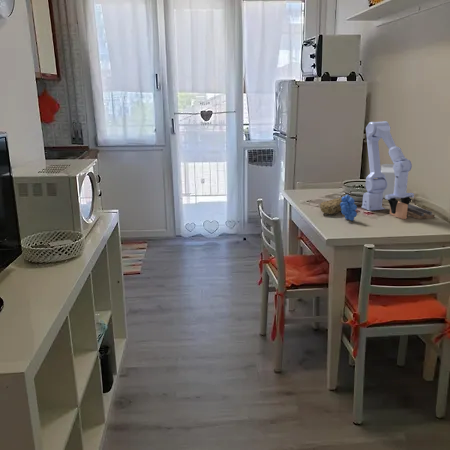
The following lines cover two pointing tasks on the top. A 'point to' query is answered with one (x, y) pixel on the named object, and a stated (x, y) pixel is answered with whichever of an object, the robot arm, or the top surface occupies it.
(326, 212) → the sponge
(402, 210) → the peach block
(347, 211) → the grapes
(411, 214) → the track base
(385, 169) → the milk carton
